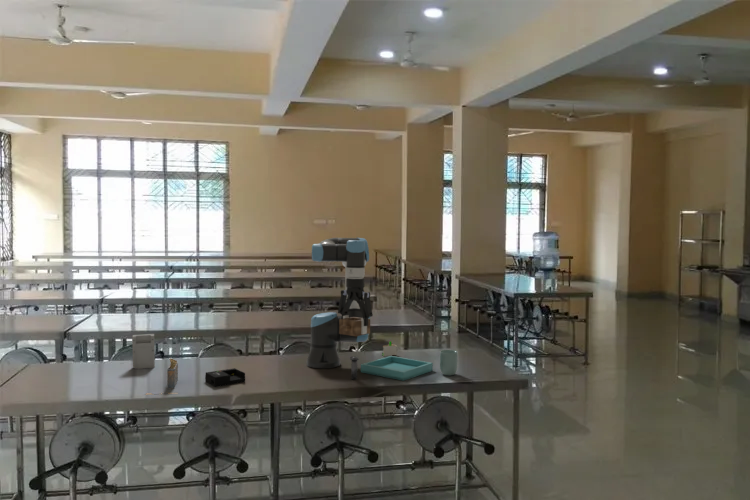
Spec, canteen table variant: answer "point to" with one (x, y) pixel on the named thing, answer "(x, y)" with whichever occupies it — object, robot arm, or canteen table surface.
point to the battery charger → (225, 377)
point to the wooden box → (352, 326)
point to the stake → (354, 367)
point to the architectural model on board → (171, 375)
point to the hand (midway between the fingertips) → (354, 332)
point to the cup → (448, 362)
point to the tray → (396, 367)
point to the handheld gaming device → (143, 351)
